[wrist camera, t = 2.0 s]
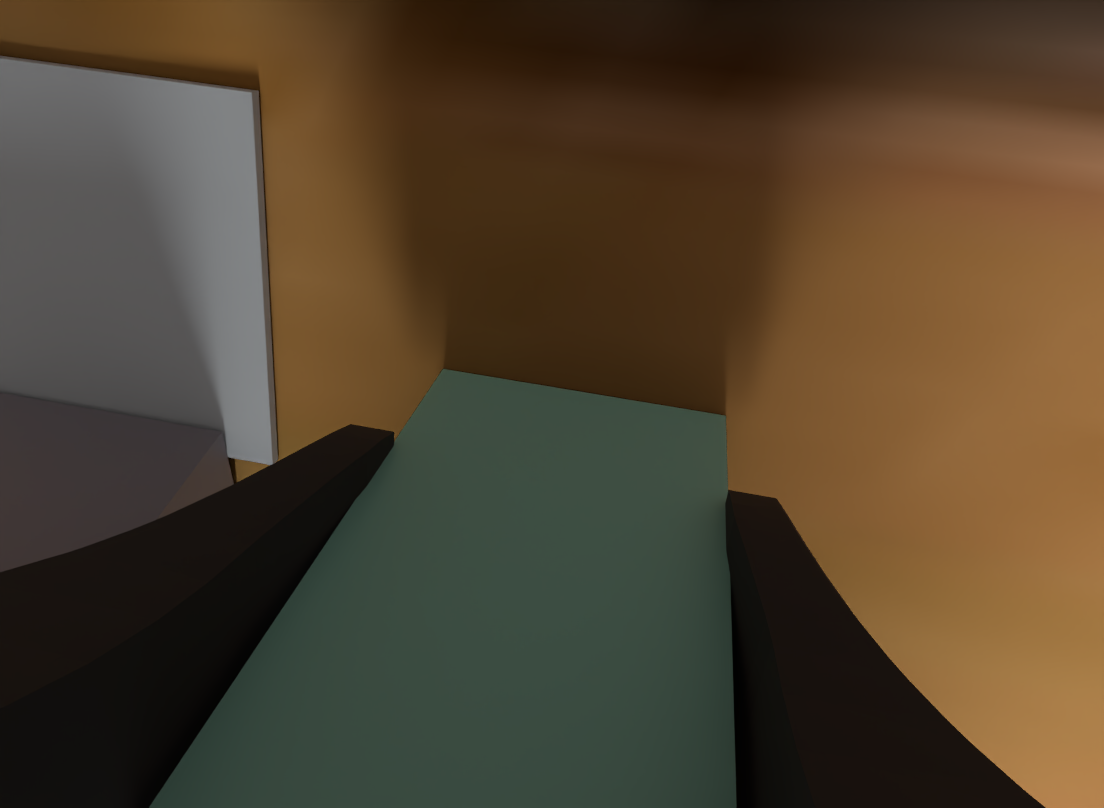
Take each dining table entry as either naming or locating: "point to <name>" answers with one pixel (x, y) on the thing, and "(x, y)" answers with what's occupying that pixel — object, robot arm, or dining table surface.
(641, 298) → the dining table surface
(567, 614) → the domino
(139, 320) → the coaster
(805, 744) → the robot arm
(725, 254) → the dining table surface
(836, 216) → the dining table surface
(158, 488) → the domino
